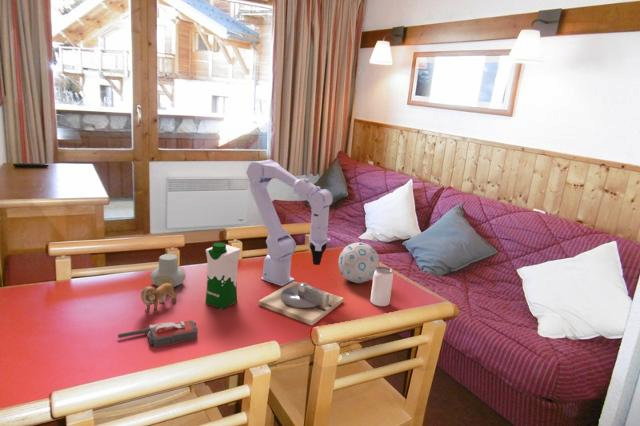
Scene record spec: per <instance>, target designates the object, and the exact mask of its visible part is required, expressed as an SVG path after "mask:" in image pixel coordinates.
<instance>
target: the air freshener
mask: <svg viewBox="0 0 640 426" xmlns="http://www.w3.org/2000/svg"><path fill="white" fill-rule="evenodd" d="M178 260H179V259H178V256H177V255H176V254H174V253H173V254H172V253H165V254H162V255H160V256H159V257H158V267H157V268H155V269H154V270H153V271H152V272H151V274H150V281H151V282H152V283H153V285H155V286H156V287H160V286H161V285H162V284H165V283H170V284H172V285H173V288H175V287H177V286H179V285H181V284H182V283H183V282H184V281H185V279H186V272H185V271H184V270H183V268H182V267H179V266H178V264H179V261H178Z"/></svg>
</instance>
